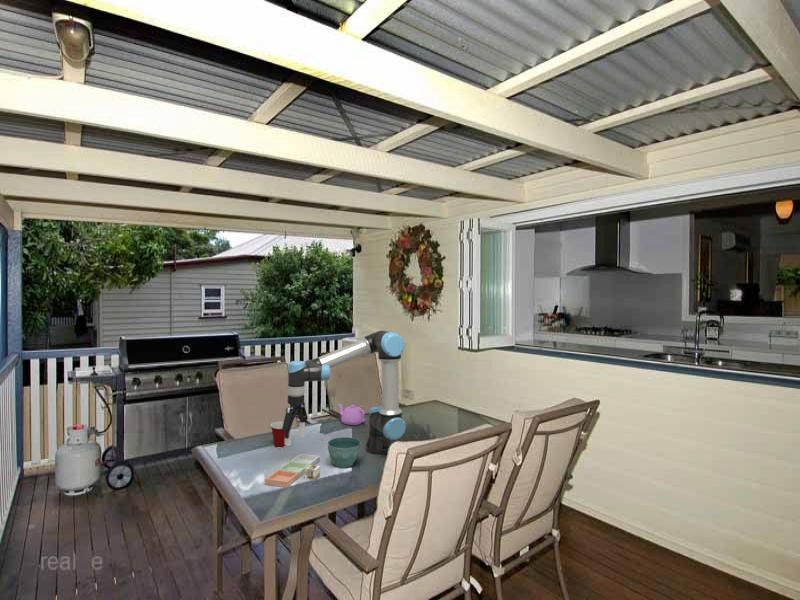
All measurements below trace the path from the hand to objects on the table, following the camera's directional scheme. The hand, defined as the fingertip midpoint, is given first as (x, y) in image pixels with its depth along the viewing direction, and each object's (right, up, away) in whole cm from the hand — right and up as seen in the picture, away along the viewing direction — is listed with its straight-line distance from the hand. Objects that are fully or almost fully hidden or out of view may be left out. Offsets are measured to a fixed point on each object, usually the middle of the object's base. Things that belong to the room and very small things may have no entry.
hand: (294, 440), depth 210 cm
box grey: (+2, -15, +11) cm, 18 cm away
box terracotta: (-3, -15, -11) cm, 18 cm away
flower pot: (+21, -16, +11) cm, 29 cm away
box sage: (0, -15, 0) cm, 15 cm away
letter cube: (+9, -15, -6) cm, 19 cm away
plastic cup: (-16, -14, +35) cm, 41 cm away
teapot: (+17, -14, +82) cm, 85 cm away
